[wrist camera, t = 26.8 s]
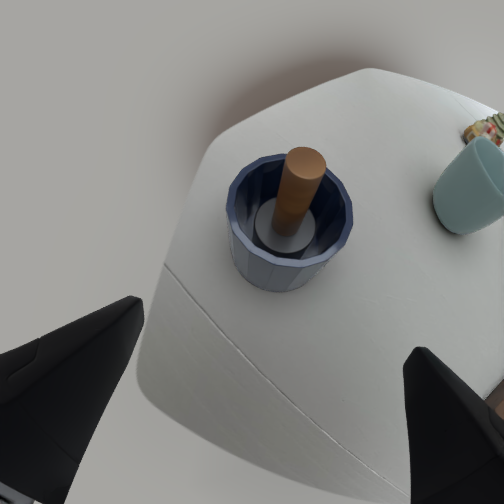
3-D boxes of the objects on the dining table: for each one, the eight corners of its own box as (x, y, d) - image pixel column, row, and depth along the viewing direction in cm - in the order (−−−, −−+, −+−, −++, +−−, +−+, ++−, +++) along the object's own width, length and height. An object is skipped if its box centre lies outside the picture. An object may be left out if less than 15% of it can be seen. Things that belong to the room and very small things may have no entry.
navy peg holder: (298, 308, 22) (324, 291, 14) (214, 263, 23) (201, 226, 15) (334, 231, 24) (367, 188, 17) (258, 192, 25) (264, 138, 18)
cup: (437, 247, 24) (500, 206, 14) (414, 184, 26) (461, 129, 17) (476, 239, 24) (530, 204, 15) (454, 184, 27) (498, 140, 17)
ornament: (481, 167, 29) (516, 131, 19) (457, 137, 30) (488, 97, 21) (492, 155, 30) (523, 123, 21) (471, 128, 32) (498, 94, 22)
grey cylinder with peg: (314, 252, 23) (366, 179, 12) (270, 279, 22) (296, 218, 11) (285, 211, 24) (312, 120, 13) (242, 235, 23) (242, 147, 12)
